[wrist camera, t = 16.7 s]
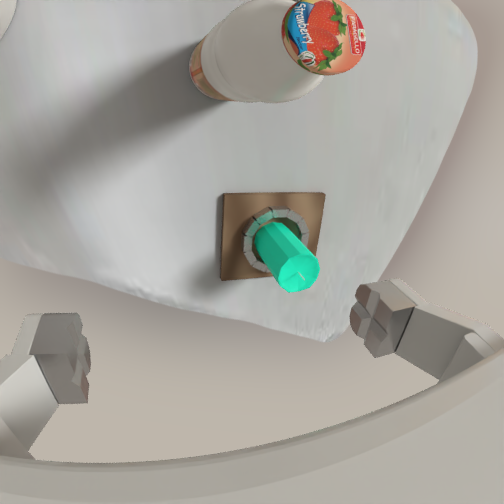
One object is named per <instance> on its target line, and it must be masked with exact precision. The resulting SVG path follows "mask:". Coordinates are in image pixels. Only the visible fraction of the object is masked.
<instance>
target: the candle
mask: <svg viewBox="0 0 504 504" xmlns="http://www.w3.org/2000/svg"><path fill="white" fill-rule="evenodd" d="M254 244H255V247H256V250H257V252H258V253H259V255H260V256H261V258H262V260H263V261H264V263H265V264H266V266H267V267H268V269H269V270H270V272H271V273H272V275H273V276H274V278H275V279H276V281H277V282H278V284H279V285H280V286H281V287H282V288H283V289H285V290H286V291H287V292H297V291H301V290H304V289H307V288H310V287H311V285H312V284H313V283H314V282H315V281H316V279H317V277H318V274H319V270H320V267H319V263H318V259H317V258H316V257H315V256H314V255H313V254H312V253H311V252H310V251H309V250H308V249H307V247H306V246H305V245H304V244H303V243H302V242H301V241H300V240H299V239H298V238H297V237H296V236H295V235H294V234H293V233H292V232H291V231H290V230H289V229H288V228H287V227H286V226H285V225H284V224H282V223H278V222H271V223H268V224H266V225H264V226H262V227H261V229H260V230H259V231H258V232H257V233H256V236H255V241H254Z"/></svg>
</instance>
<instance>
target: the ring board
mask: <svg viewBox="0 0 504 504" xmlns="http://www.w3.org/2000/svg"><path fill="white" fill-rule="evenodd" d="M324 202H325V194H324V193H307V192H275V193H223V214H222V241H221V273H220V278H221V280H222V281H226V280H237V279H248V278H258V277H269V276H273V275H272V273H271V272H267V273H266V271H265V272H263V271H261V270H259V269H256V268H254V267H252V265H250V263H249V261H248V260H247V258H246V256H245V254H244V253H243V251H242V249H241V236H242V232H243V231H242V230H243V228H244V227H245V225H246V224H247V222H248V221H249V219H250V218H251V216H252V217H254V216H253V215H254V214H256V213H257V212H259V211H261V210H263V209H264V208H266V207H268V208H269V206H287V207H288V208H290V209H292V210H293V211H295V212H297V213H298V214H299V215H301V216H302V217H303V218H304V220H305V223H306V225H307V227H308V230H309V238H308V244H307V249H308V250H309V251H310V252H311V253H312V254H313V255H314V256H316V251H317V245H318V239H319V233H320V227H321V221H322V215H323V208H324ZM271 222H278V223H282V224H284V225H285V226H286V227H287V228H288V229H289V230H290V231H291V232H292V233H293V234H294V235H295V236H296V237H297V234H298V229H297V227H296V224H295V222H294V221H293V220H291V219H289V218H287V217H277V218H272V219H270V220H268V221H267V222H265V223H263V224H261V225H260V226H259V228H258V229H257V231H256V233H257V232H258V231H259V230H260V229H261V227H262V226H264V225H266V224H268V223H271ZM256 233H255V234H254V236H253V237H252V249H251V250H252V252H253V254H254V256H256V257H258V258H260V259H262V258H261V256H260V255H259V253H258V252H257V250H256V247H255V244H254V241H255V236H256Z"/></svg>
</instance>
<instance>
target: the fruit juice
mask: <svg viewBox="0 0 504 504" xmlns="http://www.w3.org/2000/svg"><path fill="white" fill-rule="evenodd" d="M365 42H366V38H365V31H364V28H363V25H362V23H361V21H360V19H359V17H358V16H357V14H356V13H355V12H354V11H353V10H352V9H351V8H350V7H349V6H348V5H347V4H345V3H344V2H342V1H340V0H300V1H298V2H295V1H292V0H251V1H248V2H246V3H244V4H242V5H240V6H239V7H237V8H236V9H234V10H233V11H232V12H231V13H230V14H229V15H228V16H227V17H226V18H225V19H223V20H222V21H221V22H219V23H218V24H217V25H215V26H214V27H213V28H212V30H211V31H210V32H209V33H208V34H207V35H206V36H205V37H204V38H203V40H202V41H201V42H200V43H199V44H198V45H197V46H196V48H195V49H194V51H193V52H192V55H191V57H190V62H189V72H190V76H191V79H192V81H193V83H194V85H195V86H196V87H197V88H198V90H199V91H201V92H202V93H203V94H205V95H206V96H208V97H210V98H213V99H217V100H227V101H239V102H247V103H253V102H264V103H283V102H289V101H293V100H296V99H299V98H301V97H303V96H305V95H306V94H308V93H310V92H311V91H312V90H313V89H314V88H316V87H317V86H318V84H319V83H320V82H321V81H322V79H323V78H324V76H325V75H335V74H339V73H343V72H346V71H348V70H350V69H351V68H353V67H354V66H355V65H356V64H357V63H358V62H359V60H360V59H361V57H362V55H363V53H364V49H365Z"/></svg>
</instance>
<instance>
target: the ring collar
mask: <svg viewBox="0 0 504 504" xmlns="http://www.w3.org/2000/svg"><path fill="white" fill-rule="evenodd" d="M253 216H254V217H252V216H251V218H250V219H249V221H248V222H247V224H246V225H245V227H244V228H243V230H242V231H243V232H242V236H241V249H242V251H243V253H244V254H245V256H246V258H247V260H248V261H249V263H250V265H252V267H254V268H256V269H259V270H261V271H263V272H265V271H266V273H267V272H270V270H269V269H268V267H267V266H266V264H265V263H264V261H263V260H262V259H260V258H258V257H256V256H254V254H253V252H252V250H251V249H252V237H253V236H254V234H255V233H256V231H257V229H258V228H259V226H260V225H261V224H263V223H265V222H267V221H268V220H270V219H272V218H277V217H287V218H289V219H291V220H293V221H294V222H295V224H296V227H297V229H298V234H297V238H298V239H299V240H300V241H301V242H302V243H303V244H304V245H305V246H306V247H307V244H308V238H309V230H308V227H307V225H306V223H305V220H304V218H303V217H302V216H301V215H299V214H298V213H297V212H295V211H293V210H292V209H290V208H288V207H287V206H269V208H268V207H266V208H264V209H263V210H261V211H259V212H257V213H256V214H254V215H253Z"/></svg>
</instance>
